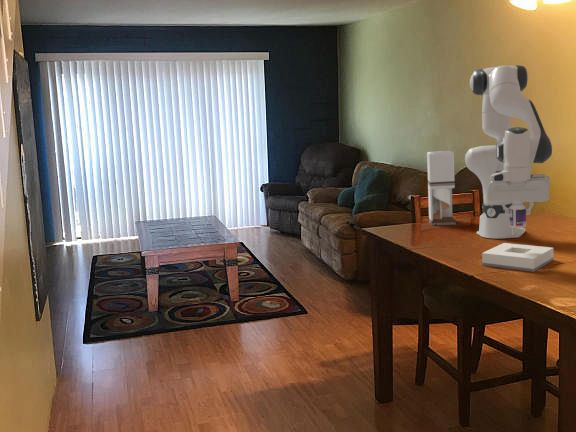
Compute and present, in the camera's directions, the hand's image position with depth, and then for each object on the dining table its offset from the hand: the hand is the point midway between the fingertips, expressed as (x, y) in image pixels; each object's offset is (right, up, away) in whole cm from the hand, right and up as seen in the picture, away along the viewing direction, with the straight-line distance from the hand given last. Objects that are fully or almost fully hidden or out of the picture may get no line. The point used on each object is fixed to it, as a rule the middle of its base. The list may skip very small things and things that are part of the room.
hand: (517, 214), depth 203 cm
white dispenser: (-4, -4, +85) cm, 85 cm away
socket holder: (+1, -17, +3) cm, 18 cm away
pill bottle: (0, -5, +1) cm, 5 cm away
